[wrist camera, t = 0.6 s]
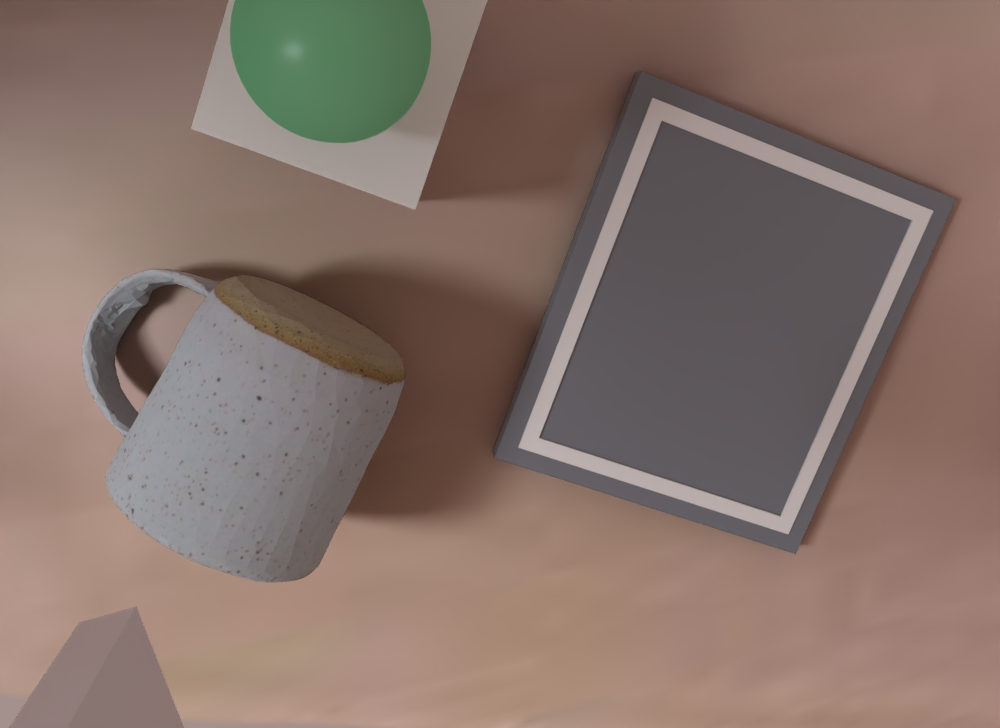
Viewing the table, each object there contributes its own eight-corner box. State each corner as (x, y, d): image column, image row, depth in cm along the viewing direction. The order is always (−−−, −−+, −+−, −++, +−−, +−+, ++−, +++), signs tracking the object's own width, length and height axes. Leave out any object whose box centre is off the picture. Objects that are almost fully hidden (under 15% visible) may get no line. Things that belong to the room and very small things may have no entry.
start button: (220, 104, 25) (204, 101, 23) (275, -80, 24) (264, -100, 22) (394, 168, 26) (394, 170, 24) (454, -7, 25) (458, -20, 23)
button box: (221, 131, 32) (190, 128, 27) (282, -71, 31) (261, -112, 26) (413, 201, 34) (415, 210, 29) (478, 8, 32) (492, -16, 27)
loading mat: (492, 451, 36) (494, 458, 35) (635, 72, 33) (641, 70, 32) (787, 545, 38) (796, 554, 37) (943, 198, 36) (957, 199, 35)
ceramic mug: (420, 340, 35) (422, 390, 27) (325, 525, 36) (302, 622, 28) (151, 208, 33) (74, 223, 25) (61, 408, 34) (-38, 479, 27)
